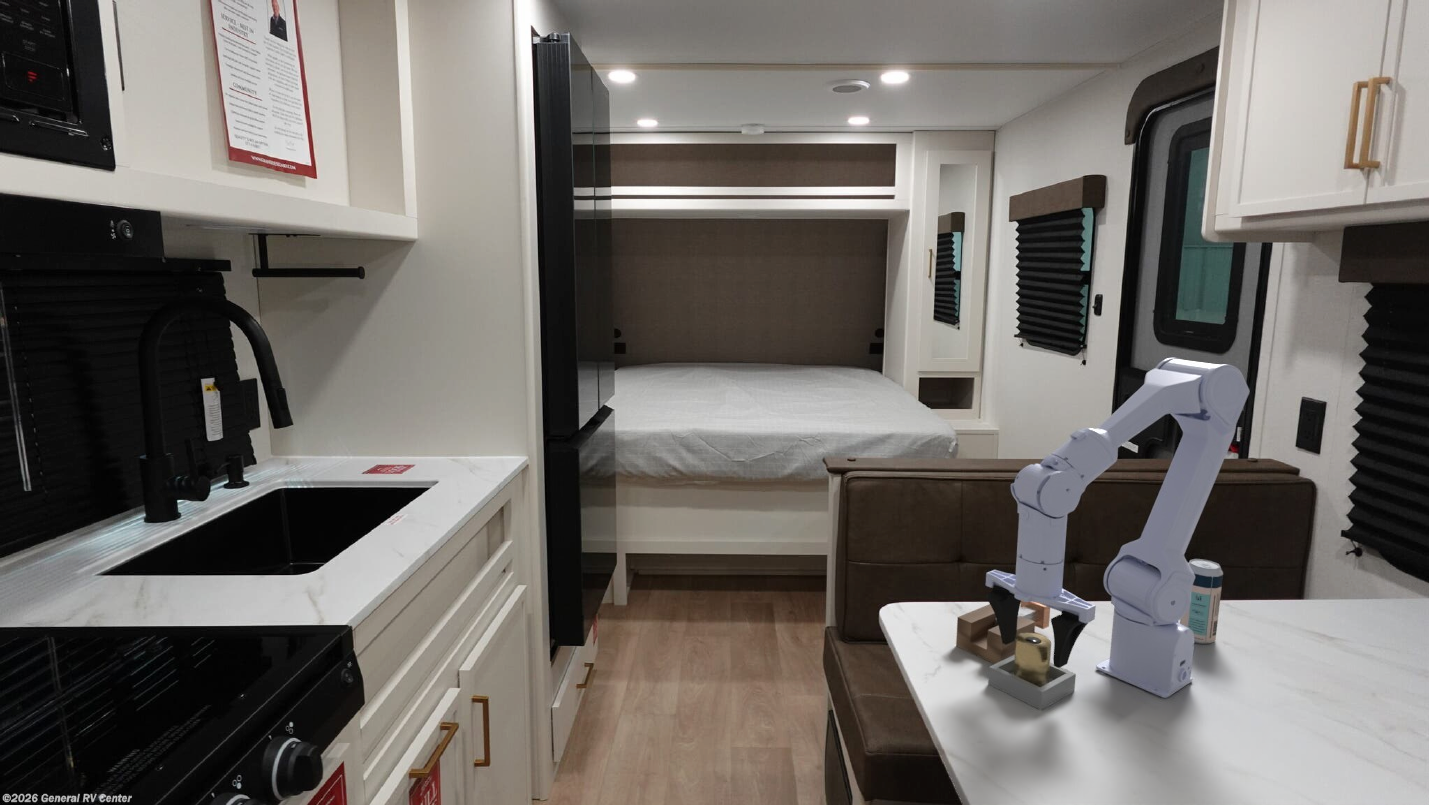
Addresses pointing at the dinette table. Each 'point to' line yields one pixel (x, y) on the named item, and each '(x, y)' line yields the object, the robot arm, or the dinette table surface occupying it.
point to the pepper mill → (1032, 658)
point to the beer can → (1204, 601)
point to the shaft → (1034, 613)
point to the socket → (1028, 692)
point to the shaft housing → (987, 634)
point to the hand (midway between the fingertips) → (1033, 653)
